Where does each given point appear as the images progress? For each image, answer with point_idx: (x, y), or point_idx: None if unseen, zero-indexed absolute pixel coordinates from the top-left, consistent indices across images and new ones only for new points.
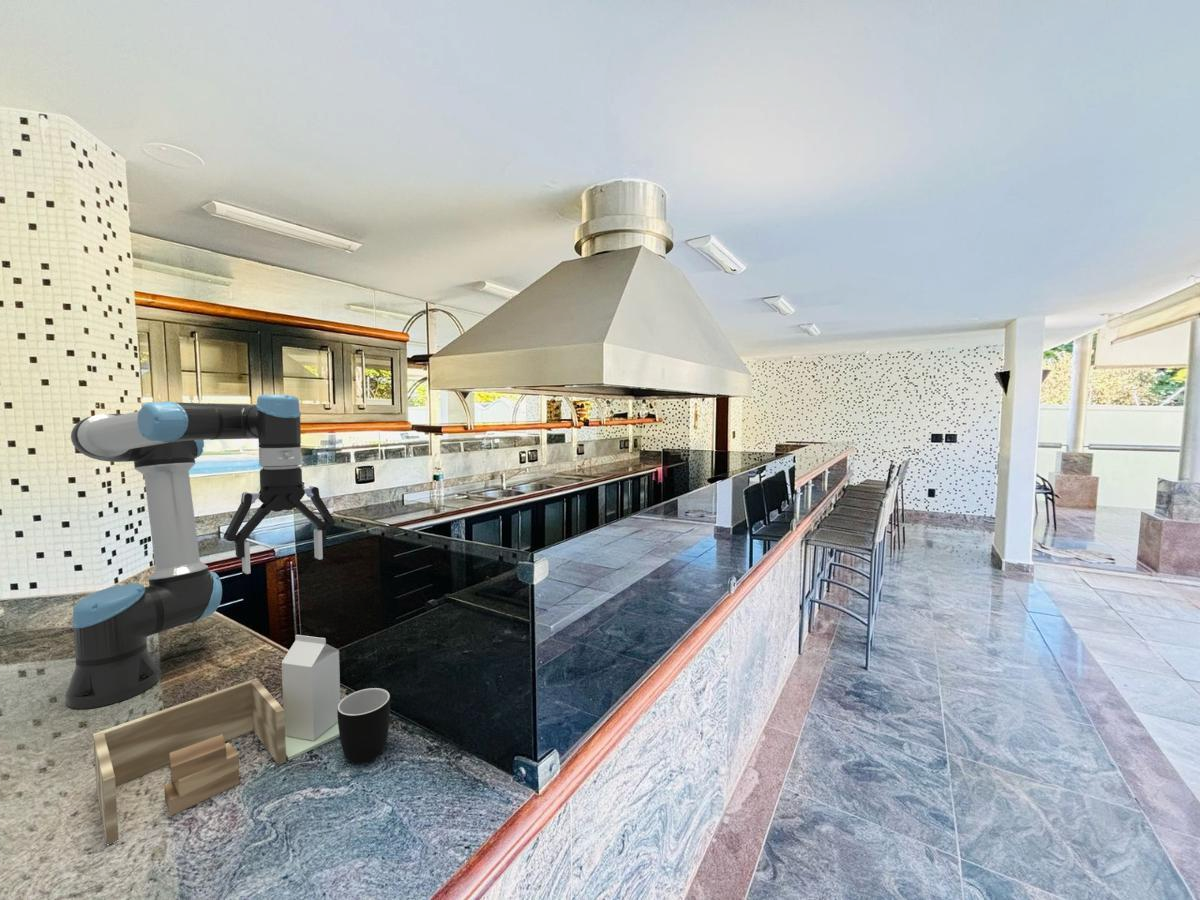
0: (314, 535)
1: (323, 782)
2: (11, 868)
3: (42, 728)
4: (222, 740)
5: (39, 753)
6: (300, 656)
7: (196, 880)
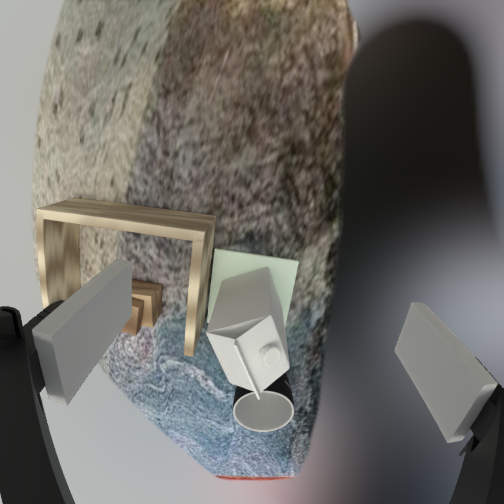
0: (460, 373)
1: (214, 375)
2: (34, 257)
3: (78, 11)
4: (136, 320)
5: (60, 68)
6: (227, 360)
7: (117, 379)
